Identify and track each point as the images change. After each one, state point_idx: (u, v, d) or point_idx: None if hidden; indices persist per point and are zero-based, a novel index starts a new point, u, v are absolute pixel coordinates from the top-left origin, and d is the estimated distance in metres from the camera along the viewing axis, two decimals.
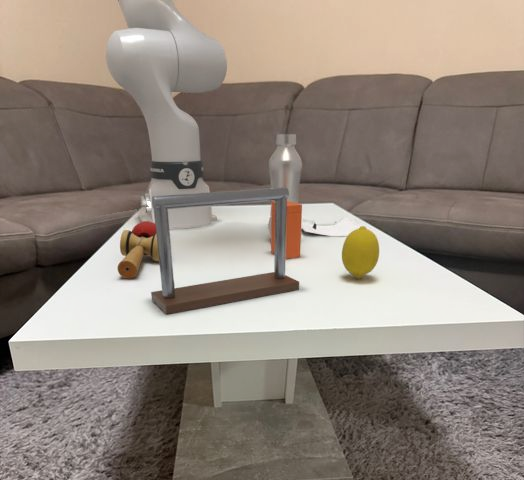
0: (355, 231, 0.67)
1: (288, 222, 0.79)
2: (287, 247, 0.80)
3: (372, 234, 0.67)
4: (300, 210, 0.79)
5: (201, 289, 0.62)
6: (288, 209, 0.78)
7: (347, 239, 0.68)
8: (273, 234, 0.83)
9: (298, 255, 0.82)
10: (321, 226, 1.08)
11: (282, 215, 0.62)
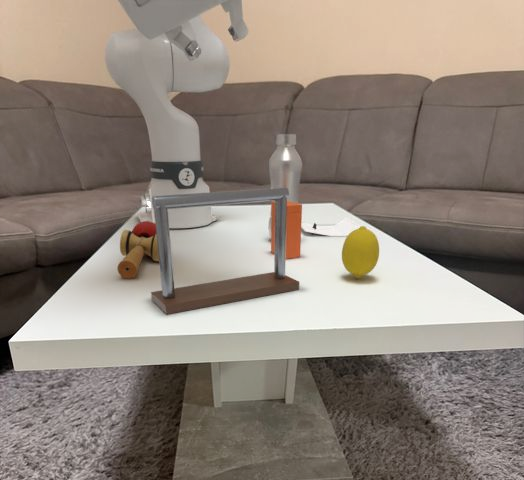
0: (355, 231, 0.67)
1: (288, 222, 0.79)
2: (287, 247, 0.80)
3: (372, 234, 0.67)
4: (300, 210, 0.79)
5: (201, 289, 0.62)
6: (288, 209, 0.78)
7: (347, 239, 0.68)
8: (273, 234, 0.83)
9: (298, 255, 0.82)
10: (321, 226, 1.08)
11: (282, 215, 0.62)
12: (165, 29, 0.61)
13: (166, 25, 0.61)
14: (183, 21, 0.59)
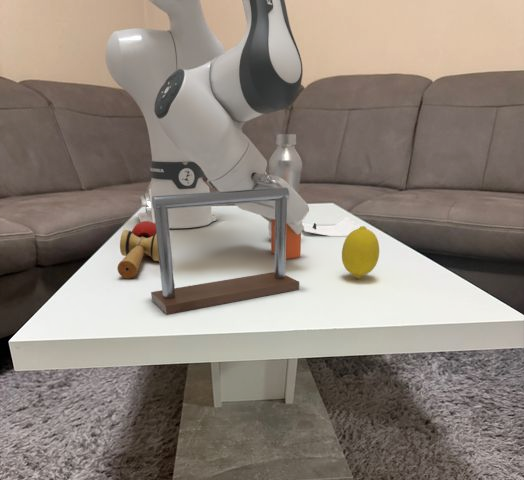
0: (355, 231, 0.67)
1: None
2: (287, 247, 0.80)
3: (372, 234, 0.67)
4: None
5: (201, 289, 0.62)
6: None
7: (347, 239, 0.68)
8: (273, 234, 0.83)
9: (298, 255, 0.82)
10: (321, 226, 1.08)
11: (282, 215, 0.62)
12: None
13: (252, 211, 0.82)
14: (262, 215, 0.80)
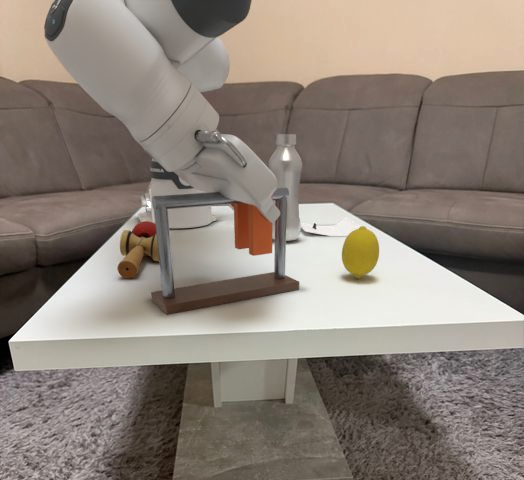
0: (355, 231, 0.67)
1: None
2: (254, 240, 0.59)
3: (372, 234, 0.67)
4: None
5: (201, 289, 0.62)
6: None
7: (347, 239, 0.68)
8: (236, 223, 0.62)
9: (269, 251, 0.61)
10: (321, 226, 1.08)
11: (282, 215, 0.62)
12: (207, 192, 0.62)
13: (207, 191, 0.61)
14: None
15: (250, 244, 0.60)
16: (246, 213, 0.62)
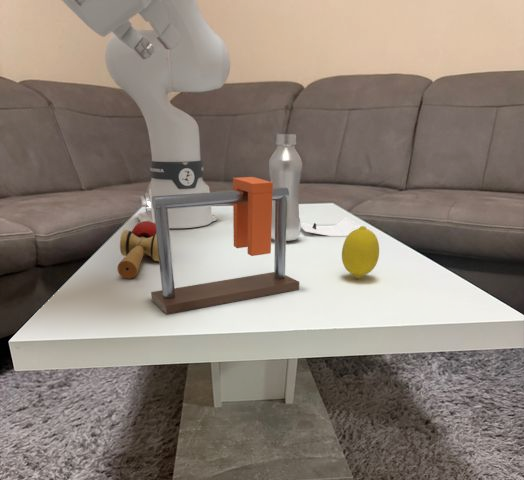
0: (355, 231, 0.67)
1: (253, 206, 0.58)
2: (252, 240, 0.60)
3: (372, 234, 0.67)
4: (270, 190, 0.58)
5: (201, 289, 0.62)
6: (253, 189, 0.57)
7: (347, 239, 0.68)
8: (236, 222, 0.62)
9: (268, 251, 0.62)
10: (321, 226, 1.08)
11: (282, 215, 0.62)
12: (108, 30, 0.55)
13: (106, 27, 0.55)
14: (116, 25, 0.52)
15: (249, 244, 0.60)
16: (245, 212, 0.62)
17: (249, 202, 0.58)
